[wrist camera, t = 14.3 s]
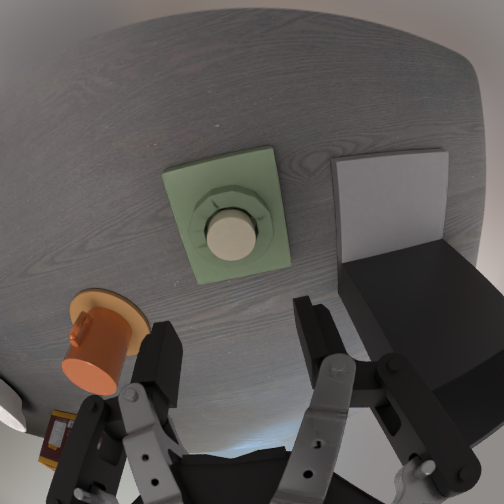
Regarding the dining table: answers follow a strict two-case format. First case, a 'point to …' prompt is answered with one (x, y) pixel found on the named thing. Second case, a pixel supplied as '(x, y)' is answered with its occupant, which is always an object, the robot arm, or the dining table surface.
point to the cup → (97, 350)
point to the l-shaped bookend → (418, 283)
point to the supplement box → (57, 438)
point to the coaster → (118, 305)
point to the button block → (230, 197)
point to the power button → (231, 235)
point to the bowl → (11, 408)
